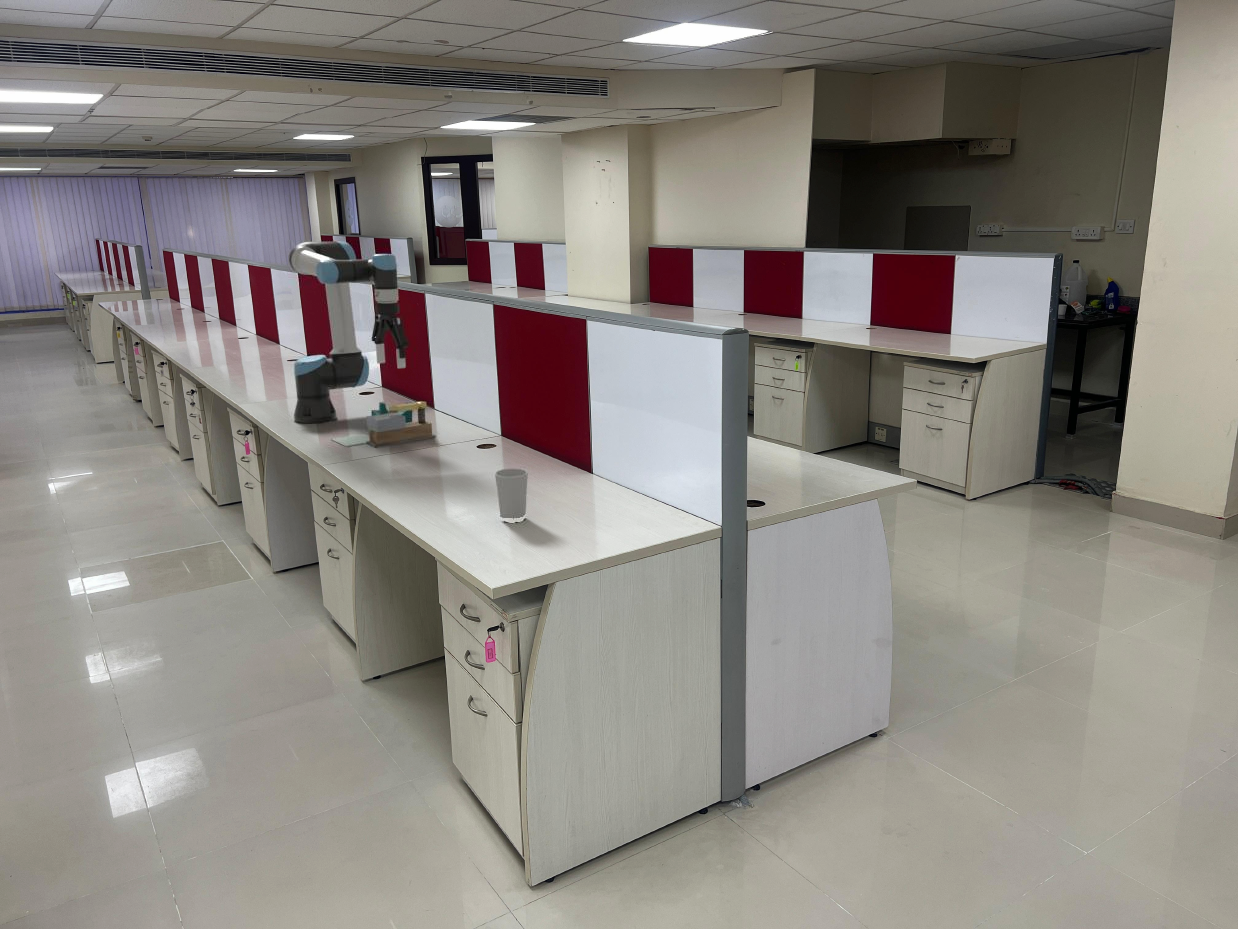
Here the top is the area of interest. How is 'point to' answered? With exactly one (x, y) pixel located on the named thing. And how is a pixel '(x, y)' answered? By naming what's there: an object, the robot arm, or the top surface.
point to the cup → (512, 492)
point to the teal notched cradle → (384, 411)
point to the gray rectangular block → (386, 422)
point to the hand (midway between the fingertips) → (391, 365)
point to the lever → (407, 407)
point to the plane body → (403, 433)
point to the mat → (352, 440)
